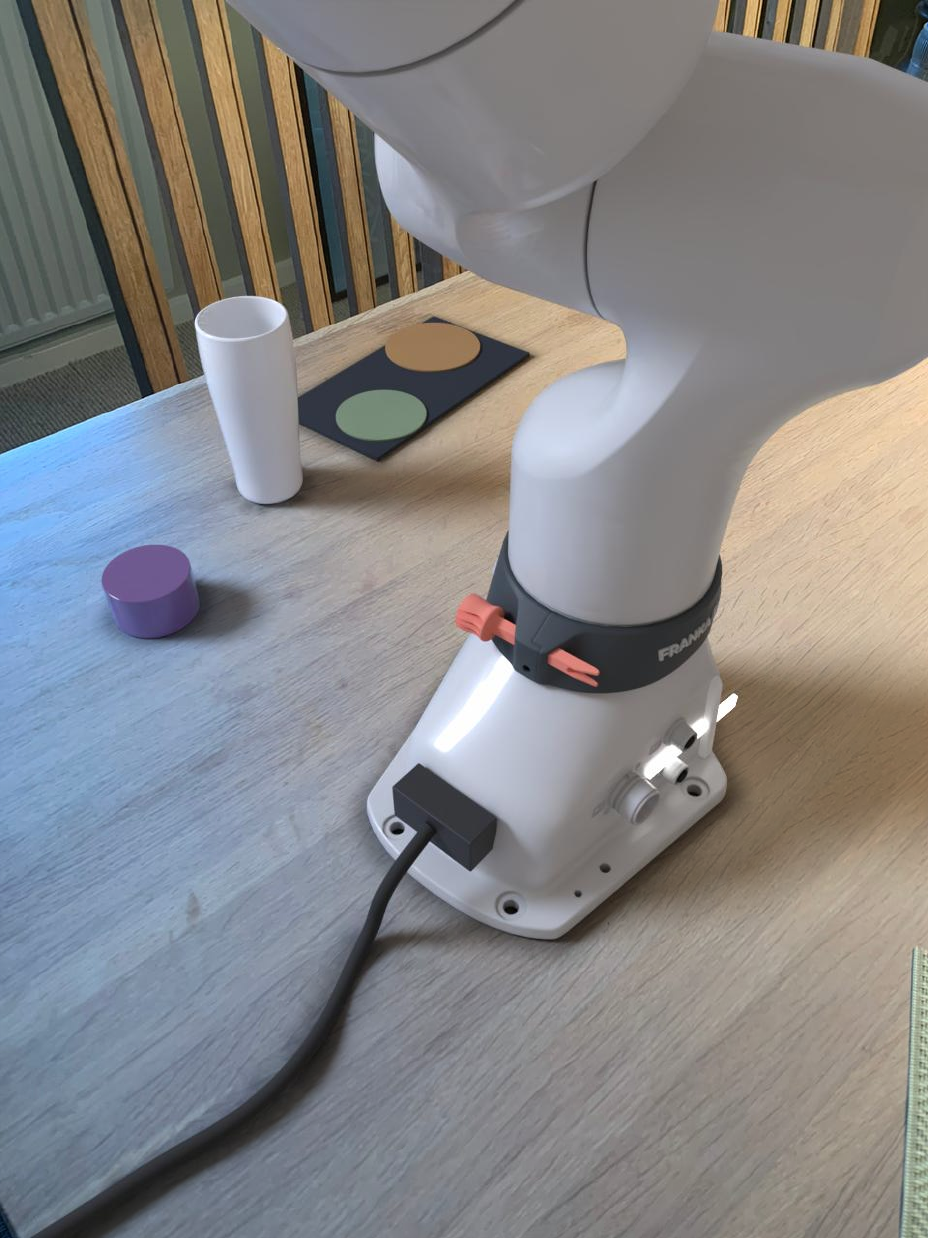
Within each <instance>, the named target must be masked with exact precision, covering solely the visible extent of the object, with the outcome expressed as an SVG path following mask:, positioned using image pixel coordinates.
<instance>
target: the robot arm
mask: <svg viewBox="0 0 928 1238" xmlns="http://www.w3.org/2000/svg"><path fill="white" fill-rule="evenodd" d="M224 1H225V2H226V3H227V4H228V5H229V6H230V7H231V8H232V9H234V10H235V11H236V12H237V13H238V14H239V15H240V16H241V17H243V19H244V20H245V21H247V22H248V23H249V24H250V25H251V26H252V27H253V28H254V29H256V30H257V31H258V32H259V33H260V34H261V35H262V36H263V37H264V38H265V39H267V40H268V41H269V42H270V43H271V44H272V45H274V46H275V47H276V48H277V49H278V50H279V51H280V52H282V53H283V55H285V56H286V57H288V58H289V59H290V60H291V61H292V62H294V64H295V65H297V66H298V67H299V68H300V69H302V70H303V71H304V72H305V73H306V74H307V75H308V76H309V77H311V78H312V79H313V80H314V81H315V82H316V83H317V84H319V85H320V86H321V87H322V88H323V89H324V90H326V92H327V93H328V94H330V95H331V96H332V97H333V98H335V99H336V101H338V102H339V103H340V104H341V105H343V107H345V109H347V110H348V111H349V112H351V114H353V115H354V117H356V118H357V119H359V120H360V121H361V122H362V123H363V124H364V125H365V126H366V127H368V128H369V129H370V131H372V132H373V133H374V135H373V136H374V142H373V143H374V147H373V148H374V161H375V168H376V174H377V180H378V183H379V187H380V191H381V195H382V197H383V200H384V203H385V205H386V207H387V209H388V211H389V214H390V215H391V217H392V218H393V219H394V221H395V222H396V224H397V225H398V226H399V227H400V228H401V229H402V230H404V232H406V233H407V234H409V235H410V236H412V237H413V238H415V239H416V240H418V241H419V242H420V243H422V244H424V245H425V246H427V247H429V248H430V249H432V250H433V251H435V252H437V253H438V254H440V255H441V256H443V257H444V258H446V259H448V260H449V261H451V262H453V263H454V264H456V265H458V266H460V267H461V268H463V269H465V270H467V271H468V272H470V273H472V274H473V275H475V276H478V277H479V278H481V279H482V280H484V281H486V282H489V283H491V284H494V285H497V286H500V287H503V288H505V289H509V290H512V291H515V292H518V293H521V294H523V295H527V296H531V297H534V298H536V299H539V300H542V301H545V302H548V303H551V304H555V305H557V306H561V307H563V308H566V309H569V310H573V311H576V312H579V313H582V314H585V315H588V316H591V317H593V318H597V319H599V320H602V321H606V322H608V323H609V324H612V325H615V326H617V327H618V328H619V329H620V330H621V332H622V334H623V337H624V340H625V341H624V342H625V349H626V351H625V358H619V359H614V360H613V359H612V360H607V361H603V362H600V363H599V362H598V363H596V364H592V365H589V366H586V367H583V368H581V369H578V370H576V371H573V372H570V373H568V374H566V375H564V376H562V377H560V378H558V379H557V380H555V381H553V382H552V383H551V384H549V385H548V386H546V387H545V388H544V389H543V390H542V391H541V392H540V393H538V395H537V396H536V397H535V398H533V400H532V401H531V403H530V404H529V405H528V407H527V408H526V410H525V412H524V413H523V415H522V417H521V419H520V420H519V422H518V424H517V427H516V430H515V432H514V435H513V438H512V443H511V453H510V454H511V455H510V456H511V458H510V460H511V461H510V483H509V484H510V485H509V486H510V487H509V509H508V510H509V513H508V514H509V515H508V530H507V531H506V533H505V535H504V538H503V541H502V544H501V547H500V550H499V553H498V554H497V556H496V557H497V559H496V560H495V562H494V565H493V567H492V572H491V575H492V578H491V581H490V585H489V589H488V593H487V596H486V599H485V598H484V597H482V596H481V595H479V594H477V593H471V594H468V595H467V596H466V597H465V598H464V599H463V600H462V601H461V603H460V604H459V606H458V609H457V611H456V613H455V618H454V623H455V626H456V628H458V629H460V630H461V631H464V632H467V633H469V634H468V636H467V638H466V639H465V641H464V643H463V645H462V646H461V648H460V649H459V651H458V653H457V655H456V656H455V658H454V660H453V662H452V663H451V665H450V667H449V668H448V670H447V672H446V673H445V676H444V677H443V678H442V680H441V682H440V684H439V685H438V687H437V688H436V690H435V692H434V694H433V696H432V698H431V700H430V701H429V703H428V705H427V706H426V708H425V709H424V711H423V713H422V715H421V716H420V718H419V721H418V723H417V724H416V726H415V728H414V729H413V730H412V732H411V734H410V735H409V736H408V737H407V739H406V741H405V742H404V743H403V745H402V746H401V748H400V749H399V750H398V751H397V753H396V755H395V756H394V757H393V759H392V760H391V761H390V764H389V765H388V766H387V768H386V769H385V771H384V772H383V773H382V774H381V776H380V777H379V779H378V781H377V782H376V783H375V785H374V787H372V790H371V791H370V793H369V795H368V796H367V800H366V813H367V816H368V819H369V823H370V825H371V828H372V830H373V831H374V834H375V835H376V837H377V839H378V841H379V842H380V844H381V845H382V847H383V848H384V849H385V851H386V852H387V854H389V856H390V857H391V858H392V859H393V860H394V861H393V863H392V865H391V867H390V868H389V870H388V871H387V872H386V874H385V875H384V877H383V879H382V880H381V882H380V884H379V886H378V887H377V890H376V892H375V893H374V896H373V898H372V900H371V903H370V906H369V910H368V913H367V916H366V919H365V922H364V924H363V927H362V929H361V931H360V933H359V935H358V937H357V939H356V941H355V943H354V945H353V948H352V949H351V951H350V954H349V955H348V958H347V959H346V962H345V965H344V966H343V969H342V971H341V973H340V976H339V978H338V979H337V982H336V984H335V986H334V988H333V990H332V992H331V995H330V997H329V999H328V1000H327V1002H326V1004H325V1006H324V1008H323V1010H322V1012H321V1014H320V1015H319V1016H318V1018H317V1021H316V1022H315V1024H314V1026H313V1027H312V1029H311V1030H310V1031H309V1033H308V1035H307V1036H306V1037H305V1039H304V1040H303V1042H302V1043H301V1044H300V1045H299V1046H298V1048H297V1050H296V1051H295V1052H294V1053H293V1054H292V1056H291V1057H290V1058H289V1059H288V1060H287V1062H285V1064H284V1065H283V1066H282V1067H281V1068H280V1069H279V1071H278V1072H277V1073H275V1074H274V1076H273V1077H271V1078H270V1080H268V1082H267V1083H266V1084H264V1085H263V1086H262V1087H261V1088H259V1090H258V1091H257V1092H256V1093H254V1094H253V1095H252V1096H250V1098H248V1099H247V1100H245V1102H243V1103H242V1104H241V1105H239V1106H238V1107H236V1108H235V1109H234V1110H232V1111H231V1112H229V1113H227V1114H226V1115H225V1116H223V1117H221V1118H220V1119H219V1120H216V1121H215V1122H214V1123H212V1124H210V1125H208V1126H207V1127H205V1128H204V1129H201V1130H200V1131H199V1132H196V1133H195V1134H194V1135H191V1136H190V1137H188V1138H186V1139H185V1140H183V1141H181V1142H179V1143H178V1144H176V1145H174V1146H172V1147H171V1148H169V1149H167V1150H165V1151H163V1152H162V1153H160V1154H159V1155H157V1156H155V1157H154V1158H152V1159H151V1160H149V1161H147V1162H145V1163H144V1164H142V1165H141V1166H139V1167H138V1168H136V1169H134V1170H133V1171H131V1172H129V1173H128V1174H126V1175H125V1176H124V1177H122V1178H121V1179H119V1180H118V1181H116V1182H115V1183H113V1184H111V1185H110V1186H109V1187H107V1188H106V1189H104V1190H103V1191H101V1192H100V1193H98V1194H96V1195H95V1196H93V1197H92V1198H90V1199H89V1200H87V1201H85V1202H84V1203H82V1204H81V1205H79V1206H78V1207H76V1208H74V1209H73V1210H72V1211H70V1212H68V1213H67V1214H65V1215H64V1216H62V1217H60V1218H59V1219H57V1220H56V1221H54V1222H52V1223H50V1224H49V1225H47V1226H46V1227H44V1228H43V1229H42V1230H39V1231H38V1232H37V1233H35V1234H33V1235H32V1236H30V1237H29V1238H68V1237H70V1236H72V1235H74V1234H75V1233H77V1232H78V1231H79V1230H81V1229H83V1228H84V1227H86V1226H87V1225H89V1224H90V1223H92V1222H93V1221H95V1220H96V1219H99V1217H101V1216H102V1215H104V1214H106V1213H107V1212H109V1211H110V1210H111V1209H113V1208H114V1207H116V1206H118V1205H119V1204H121V1203H122V1202H124V1201H125V1200H127V1199H128V1198H130V1197H132V1196H133V1195H134V1194H136V1193H137V1192H138V1191H140V1190H142V1189H144V1188H145V1187H146V1186H148V1185H149V1184H151V1183H153V1182H154V1181H156V1180H158V1178H160V1177H162V1176H164V1175H166V1174H167V1173H169V1172H171V1171H172V1170H174V1169H175V1168H177V1167H179V1166H181V1165H182V1164H184V1163H186V1162H187V1161H189V1160H191V1159H192V1158H194V1157H196V1156H198V1155H200V1154H201V1153H203V1152H205V1151H207V1150H208V1149H210V1148H212V1147H213V1146H215V1145H216V1144H218V1143H220V1142H221V1141H223V1140H225V1139H226V1138H227V1137H230V1136H231V1135H233V1134H234V1133H235V1132H237V1131H239V1130H240V1129H241V1128H242V1127H244V1126H245V1125H247V1124H248V1123H250V1122H251V1121H252V1120H253V1119H254V1118H256V1117H257V1116H258V1115H260V1114H261V1113H262V1112H263V1111H264V1110H265V1109H267V1108H268V1107H269V1106H270V1105H271V1104H272V1103H273V1102H274V1101H276V1100H277V1098H279V1097H280V1096H281V1095H282V1094H283V1093H284V1091H286V1089H288V1088H289V1086H290V1085H291V1084H292V1083H294V1081H296V1079H297V1078H298V1077H299V1075H300V1074H301V1073H302V1072H303V1070H304V1069H305V1068H306V1067H307V1066H308V1065H309V1063H310V1062H311V1060H312V1059H313V1058H314V1057H315V1055H316V1054H317V1052H318V1051H319V1050H320V1048H321V1047H322V1045H323V1044H324V1042H325V1040H326V1039H327V1037H328V1036H329V1034H330V1032H331V1031H332V1030H333V1027H334V1025H335V1024H336V1022H337V1020H338V1018H339V1017H340V1014H341V1012H342V1011H343V1007H344V1005H345V1003H346V1001H347V999H348V996H349V994H350V992H351V990H352V987H353V985H354V983H355V981H356V979H357V977H358V975H359V973H360V972H361V969H362V967H363V965H364V962H365V960H366V958H367V956H368V954H369V952H370V950H371V948H372V946H373V943H374V941H375V939H376V937H377V935H378V933H379V931H380V928H381V925H382V923H383V919H384V916H385V913H386V910H387V908H388V906H389V903H390V900H391V899H392V897H393V895H394V893H395V891H396V890H397V888H398V886H399V884H400V883H401V882H402V880H403V878H404V877H405V875H406V874H408V875H409V876H410V877H412V878H413V879H414V880H415V881H417V882H418V883H419V884H420V885H422V886H423V887H424V888H426V889H427V890H428V891H429V892H430V893H432V894H434V895H435V896H436V897H438V898H439V899H441V900H442V901H444V902H445V903H447V904H448V905H450V906H451V907H453V908H454V909H456V910H458V911H459V912H461V913H462V914H465V915H466V916H468V917H469V918H472V919H473V920H475V921H478V922H479V923H482V924H484V925H487V926H489V927H491V928H493V929H495V930H499V931H502V932H504V933H507V934H510V935H514V936H519V937H524V938H529V939H537V940H556V939H559V938H561V937H562V936H564V935H565V934H567V933H568V932H569V931H570V930H572V929H573V928H574V927H575V926H576V925H578V924H579V923H580V922H581V921H583V920H584V919H585V918H586V917H587V916H588V915H590V914H591V913H592V912H593V911H594V910H596V909H597V908H598V907H599V906H600V905H601V904H602V903H604V902H605V901H606V900H608V899H609V898H610V897H611V896H612V895H613V894H614V893H616V892H617V891H618V890H619V889H620V888H621V887H622V886H624V885H625V884H626V883H627V882H628V881H629V880H631V879H632V878H633V877H634V876H635V875H637V874H638V873H639V872H640V871H641V870H642V869H644V868H645V867H646V866H647V865H648V864H649V863H650V862H652V861H653V860H654V859H655V858H657V857H658V856H659V855H660V854H661V853H662V852H663V851H664V850H666V849H668V847H669V846H671V845H672V844H673V843H674V842H676V840H678V839H679V838H681V836H683V835H684V834H685V833H686V832H687V831H688V830H689V829H691V828H692V827H693V826H694V825H695V824H696V823H698V822H699V821H700V820H702V819H703V818H704V817H705V816H706V815H707V814H708V813H709V812H711V810H713V809H714V808H715V807H716V806H718V805H719V804H720V803H721V802H722V801H723V800H724V798H725V796H726V794H727V787H728V778H727V774H726V772H725V769H724V768H723V765H722V764H721V763H720V761H719V759H718V758H717V756H716V754H715V752H714V751H713V746H714V741H715V734H716V728H717V723H718V722H719V721H720V720H721V719H722V718H723V717H725V716H726V715H727V714H728V713H729V712H730V711H731V710H733V708H735V707H736V703H737V700H738V695H736V693H732V694H731V695H730V696H728V698H726V699H725V700H724V701H723V702H721V698H722V693H723V685H724V683H723V681H722V679H721V673H720V671H719V669H718V665H717V663H716V661H715V657H714V654H713V650H712V647H711V643H710V640H709V634H710V632H711V630H712V627H713V622H714V619H715V617H716V615H717V612H718V609H719V606H720V601H721V595H722V579H723V562H722V556H721V554H720V553H721V549H722V546H723V542H724V538H725V535H726V532H727V527H728V524H729V521H730V518H731V514H732V511H733V508H734V505H735V501H736V499H737V496H738V493H739V491H740V488H741V485H742V482H743V480H744V477H745V476H746V475H745V474H746V472H747V471H748V468H749V467H750V465H751V463H752V461H753V460H754V458H755V457H756V455H757V454H758V453H759V452H760V450H761V449H762V448H763V447H764V445H765V444H766V443H767V442H768V441H769V440H770V438H772V436H773V435H775V434H776V433H777V432H778V431H779V430H780V429H781V428H782V427H783V426H785V425H786V424H788V423H789V422H790V421H791V420H792V419H794V418H796V417H797V416H800V415H801V414H802V413H804V412H806V411H807V410H809V409H811V408H813V407H815V406H817V405H819V404H822V403H823V402H825V401H827V400H830V399H833V398H836V397H839V396H841V395H843V394H847V393H850V392H855V391H858V390H861V389H864V388H868V387H869V388H870V387H873V386H877V385H880V384H882V383H885V382H886V381H887V382H888V381H889V380H892V379H893V378H896V377H898V376H900V375H902V374H903V373H905V372H907V371H908V370H911V369H912V368H914V367H916V366H917V365H918V364H920V363H921V362H923V361H924V360H926V359H927V358H928V81H926V80H923V79H921V78H919V77H916V76H914V75H913V74H912V75H911V74H909V73H907V72H904V71H902V70H900V69H897V68H894V67H893V66H890V65H887V64H885V63H882V62H880V61H877V60H875V59H873V58H870V57H866V56H860V55H855V54H850V53H843V52H839V51H838V52H837V51H832V50H827V49H821V48H816V47H810V46H806V45H805V46H804V45H799V44H793V43H787V42H783V41H777V40H771V39H765V38H760V37H754V36H748V35H744V34H738V33H733V32H732V33H731V32H726V31H721V30H715V29H714V25H715V22H716V19H717V15H718V11H719V5H720V0H224ZM690 793H694V794H696V795H698V796H694V795H691V794H690ZM396 830H401V831H403V832H402V833H400V834H394V833H393V832H394V831H396ZM510 907H511V908H514V909H516V910H517V912H515V913H513V914H510V913H507V912H506V911H505V909H507V908H510Z"/></svg>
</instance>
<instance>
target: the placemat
mask: <svg viewBox="0 0 928 1238" xmlns="http://www.w3.org/2000/svg"><path fill="white" fill-rule="evenodd" d="M530 355H531V353H530V352H529V351H526V350H523V349H521V348H519V347H516V346H513V345H510V344H508V343H505V342H503V341H500V340H497V339H495V338H492V337H489V336H487V335H484V334H482V333H479V332H476V331H474V330H472V329H469V328H466V327H463V326H460V325H458V324H456V323H453V322H450V321H448V320H446V319H443V318H440V317H438V316H434V315H433V316H431V317H429V318H428V319H426V320H425V321H423V322H421V323H417V324H411V325H409V326H406V327H403V328H401V329H399V330H397V331H395V332H393V334H391V335H390V336H389V338H388V339H387V340H386V342H385V345H383V346H381V347H379V348H378V349H376V350H375V351H373V352H371V353H370V354H368V355H367V356H365V357H363V358H361V359H359V360H358V361H356V362H354V363H353V364H351V365H350V366H348V367H345V369H343V370H340V372H337V373H336V374H334V375H333V376H331V377H329V378H328V379H326V380H324V381H322V382H321V383H319V384H317V385H316V386H314V387H312V388H311V389H310V390H308V391H306V392H304V393H303V394H301V395H300V396H299V395H298V416H299V425H301V426H303V427H305V428H306V429H308V430H311V431H313V432H315V433H317V434H319V435H321V436H323V437H326V438H328V439H329V440H332V441H334V442H335V443H338V444H340V445H342V446H344V447H346V448H348V449H350V450H353V451H355V452H357V453H359V454H361V455H363V456H365V457H367V458H369V459H370V460H373V461H375V462H380V461H381V460H383V459H384V458H385V457H386V456H388V455H390V454H391V453H392V452H394V451H396V450H397V449H398V448H400V447H401V446H402V445H404V444H405V443H407V442H408V441H410V440H411V439H413V438H414V437H416V436H417V435H418V434H420V433H422V432H423V431H424V430H426V429H427V428H429V427H430V426H431V425H433V424H434V423H436V422H437V421H438V420H440V419H441V418H443V417H445V416H446V415H447V414H449V413H450V412H452V411H453V410H454V409H456V408H457V407H459V406H461V405H462V404H463V403H465V402H466V401H468V400H469V399H471V397H473V396H475V395H476V394H477V393H479V392H481V391H482V390H483V389H485V388H486V387H487V386H489V385H490V384H492V383H493V382H495V381H496V380H498V379H499V378H500V377H502V376H503V375H505V374H506V373H508V372H509V371H511V370H512V369H514V368H515V367H517V366H518V365H519V364H521V363H522V362H524V361H525V360H526V359H528V358H530Z"/></svg>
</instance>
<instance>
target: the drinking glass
mask: <svg viewBox="0 0 928 1238" xmlns="http://www.w3.org/2000/svg"><path fill="white" fill-rule="evenodd" d="M194 328H195V335H196V341H197V347H198V354H199V358H200V364H201V368H202V371H203V375H204V380H205V382H206V386H207V389H208V393H209V395H210V399H211V402H212V405H213V408H214V412H215V414H216V417H217V422H218V424H219V427H220V431H221V434H222V437H223V440H224V444H225V447H226V450H227V453H228V458H229V460H230V463H231V467H232V471H233V475H234V480H235V484H236V489H237V490H238V492H239V494H240V495H241V496H242V497H243V498H244V499H246V500H248V501H249V502H252V503H255V504H260V505H261V504H262V505H273V504H278V503H282V502H284V501H287V500H289V499H291V498H292V497H294V496H295V495H296V494H297V493H298V492H299V491H300V489H301V488H302V486H303V483H304V482H303V481H304V475H303V467H302V460H301V459H302V458H301V442H300V441H301V440H300V424H299V416H298V397H299V395H298V394H299V393H298V391H299V390H298V372H297V360H296V359H297V358H296V350H295V342H294V336H293V331H292V325H291V321H290V314H289V312H288V309H287V307H285V305H283V304H282V303H280V301H277V300H274V299H271V298H269V297H263V296H257V295H241V296H233V297H228V298H224V299H220V300H217V301H215V302H212V303H211V304H209V305H207V306H205V307H203V308H202V309H201V310H200V311H199V312H198V313H197V315H196V316H195V319H194Z"/></svg>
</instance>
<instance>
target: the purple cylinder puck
mask: <svg viewBox="0 0 928 1238" xmlns="http://www.w3.org/2000/svg"><path fill="white" fill-rule="evenodd" d="M101 574H102V575H101V580H100V581H101V587H102V589H103V592H104V595H105V598H106V601H107V603H108V606H109V609H110V612H111V615H112V618H113V620H114V623H115V626H116V627H117V628H118V629H119V630H120V631H122V632H123V633H124V634H126V635H127V636H131V637H134V638H137V639H138V638H140V639H158V638H162V637H163V638H164V637H166V636H170V635H171V634H174V633H177V632H179V631H181V630H182V629H184V628H185V627H186V626H188V625H189V624H190V623H191V622H192V621H193V620H194V619H195V618H196V616H197V614H198V613H199V610H200V606H201V600H200V594H199V592H198V588H197V584H196V580H195V577H194V572H193V569H192V564H191V562H190V559H189V557H188V556H187V555H186V554H185V553H184V552H183V551H181V550H180V549H178V548H177V547H173V546H170V545H166V544H144V545H140V546H137V547H132V548H131V549H128V550H125V551H123V552H122V553H120V554H117V556H115V557H114V558H113V559H112V560H111V561H109V562H108V564H107V565H106V566H105V568H104V569H103V571H102V573H101Z"/></svg>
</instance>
